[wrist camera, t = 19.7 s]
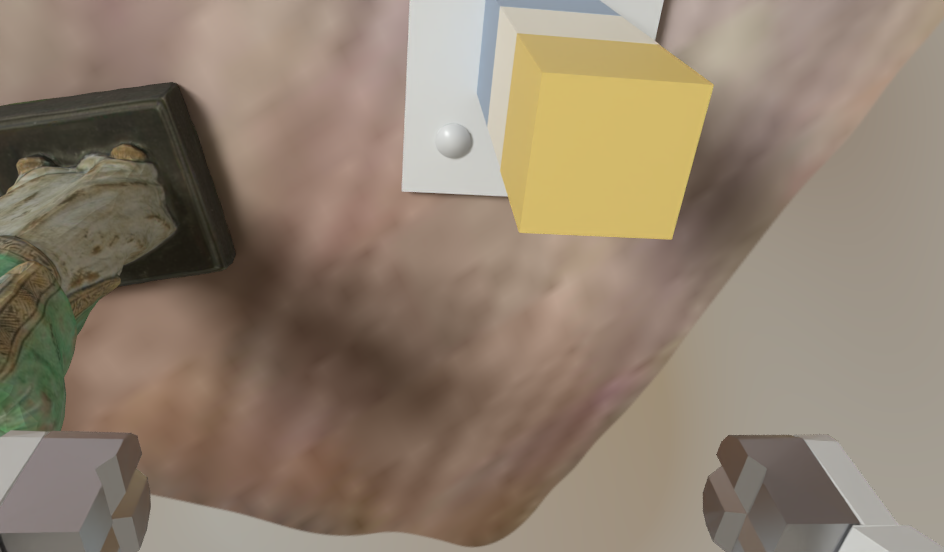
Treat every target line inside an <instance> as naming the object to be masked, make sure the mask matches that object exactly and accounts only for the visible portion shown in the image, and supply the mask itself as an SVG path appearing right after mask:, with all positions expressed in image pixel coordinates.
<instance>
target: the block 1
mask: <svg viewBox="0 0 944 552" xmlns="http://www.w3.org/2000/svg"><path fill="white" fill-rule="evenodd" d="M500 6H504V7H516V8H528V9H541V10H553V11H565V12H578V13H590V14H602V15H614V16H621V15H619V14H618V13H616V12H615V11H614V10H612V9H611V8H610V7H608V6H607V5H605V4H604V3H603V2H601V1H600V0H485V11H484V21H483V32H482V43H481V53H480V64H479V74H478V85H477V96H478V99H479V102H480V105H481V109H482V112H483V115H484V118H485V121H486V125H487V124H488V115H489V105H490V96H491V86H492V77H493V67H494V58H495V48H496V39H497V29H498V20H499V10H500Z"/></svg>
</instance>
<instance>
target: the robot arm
mask: <svg viewBox="0 0 944 552" xmlns="http://www.w3.org/2000/svg"><path fill="white" fill-rule="evenodd" d="M141 455H142V451H141V447H140V444H139V440H138V437H137V435H134V434H132V433H115V432H80V431H51V432H49V431H17V430H11V431H9V432H8V433H6V434H4V435H3V436H1V437H0V552H137V551H139V550H140V547H141V545H142V542H143V539H144V536H145V533H146V531H147V526H148V520H149V514H150V507H151V503H150V487H149V482H148V478H147V477H146V476H145V475H144V474H142V473H141V472H140V471H139V470H137V469H136V467H137V465H138V463H139V460H140V458H141ZM716 455H717V457H718V459H719V461H720V462H721V465H722V466H721V467H720V468H718V469H717V470H716V471H714V472H713V473H712V474H711V475H709V476H708V479H707V482H706V485H705V488H704V491H703V513H704V517H705V522H706V526H707V528H708V531H709V533H710V536H711V538H712V540H713V542H714V543H716V544H717V545H718V546H719V547H721V548H722V549H723V550H724V551H725V552H944V547H943V546H941V545H940V544H938V543H937V542H935V541H934V540H932V539H931V538H929V537H927V536H926V535H924V534H923V533H921V532H920V531H918V530H917V529H915V528H913V527H912V526H910V525H899V524H898V523H897V521H896V520H895V518H894V517H893V516H892V514H891V513H890V512H889V510H888V509H887V508H886V506H885V505H884V503H883V502H882V501H881V499H880V498H879V497H878V495H877V494H876V493H875V491H874V490H873V488H872V487H871V486H870V484H869V483H868V482H867V480H866V479H865V477H864V476H863V475H862V473H861V472H860V471H859V469H858V468H857V467H856V465H855V464H854V463H853V461H852V460H851V458H850V457H849V456H848V454H847V453H846V452H845V450H844V449H843V448H842V446H841V445H840V443H839V442H838V441H837V440H836V439H834V438H833V437H831V436H830V435H793V436H792V435H728V436H727V437H726V438H725V439H724V440H723V441H722V442H721V444H720V447H719V449H718V452H717V454H716Z"/></svg>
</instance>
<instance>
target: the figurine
mask: <svg viewBox="0 0 944 552" xmlns="http://www.w3.org/2000/svg"><path fill="white" fill-rule="evenodd" d="M235 255H236V253H235V249H234V246H233V243H232V239H231V236H230V232H229V229H228V227H227V224H226V221H225V218H224V215H223V210H222V207H221V204H220V201H219V199H218V196H217V193H216V190H215V186H214V183H213V180H212V177H211V175H210V172H209V170H208V167H207V164H206V161H205V157H204V154H203V151H202V148H201V145H200V142H199V139H198V136H197V133H196V130H195V128H194V126H193V123H192V121H191V119H190V116H189V113H188V111H187V108H186V105H185V102H184V100H183V97H182V95H181V93H180V90H179V88H178V86H177V84H176V83H173V82H170V83H162V84H153V85H146V86H141V87H133V88H123V89H117V90H111V91H104V92H94V93H88V94H82V95H76V96H70V97H61V98H52V99H43V100H36V101H29V102H21V103H14V104H8V105H4V106H0V437H1V436H3V435H4V434H6V433H8V432H9V431H11V430H17V431H49V432H51V431H61V428H62V424H63V420H64V415H65V402H66V390H65V382H64V376H65V374H66V372H67V370H68V368H69V366H70V363H71V360H72V357H73V354H74V350H75V344H76V338H77V335H78V334H79V332H80V330H81V329H82V327H83V325H84V323H85V321H86V319H87V317H88V315H89V313H90V311H91V310H92V309H93V307H94V306H95V305H96V303H97V302H98V300H100V299H101V298H102V297H104V296H105V295H107V294H108V293H109V292H111V291H112V290H114V289H115V288H116V287H119V286H125V285H131V284H138V283H144V282H149V281H155V280H162V279H168V278H179V277H186V276H193V275H199V274H206V273H212V272H217V271H222V270H225V269H226V268H227V267H228V266H229V265H231V264H232V262H233V260H234V258H235Z"/></svg>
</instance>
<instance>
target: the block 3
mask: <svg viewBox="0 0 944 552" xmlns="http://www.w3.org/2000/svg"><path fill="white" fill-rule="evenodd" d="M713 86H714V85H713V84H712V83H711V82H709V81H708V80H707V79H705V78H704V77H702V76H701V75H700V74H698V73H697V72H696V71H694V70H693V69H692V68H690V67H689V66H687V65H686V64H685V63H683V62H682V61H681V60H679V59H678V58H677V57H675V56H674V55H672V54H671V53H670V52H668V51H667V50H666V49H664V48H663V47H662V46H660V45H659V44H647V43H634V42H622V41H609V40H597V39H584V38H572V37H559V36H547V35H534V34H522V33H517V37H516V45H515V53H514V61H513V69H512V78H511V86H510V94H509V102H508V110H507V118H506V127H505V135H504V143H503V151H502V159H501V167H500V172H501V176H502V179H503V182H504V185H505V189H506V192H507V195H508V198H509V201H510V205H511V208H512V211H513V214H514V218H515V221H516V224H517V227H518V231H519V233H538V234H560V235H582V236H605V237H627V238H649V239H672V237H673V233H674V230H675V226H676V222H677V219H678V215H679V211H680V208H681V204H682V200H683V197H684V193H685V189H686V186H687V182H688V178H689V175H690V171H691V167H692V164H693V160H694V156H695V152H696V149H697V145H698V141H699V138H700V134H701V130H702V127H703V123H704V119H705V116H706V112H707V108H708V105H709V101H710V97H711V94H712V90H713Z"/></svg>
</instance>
